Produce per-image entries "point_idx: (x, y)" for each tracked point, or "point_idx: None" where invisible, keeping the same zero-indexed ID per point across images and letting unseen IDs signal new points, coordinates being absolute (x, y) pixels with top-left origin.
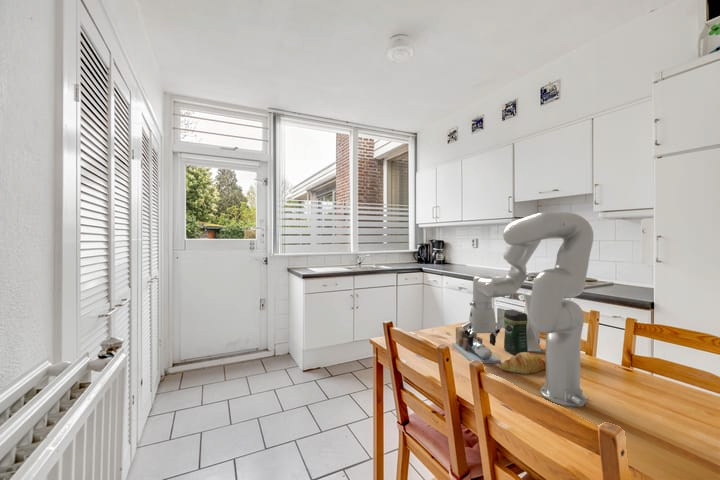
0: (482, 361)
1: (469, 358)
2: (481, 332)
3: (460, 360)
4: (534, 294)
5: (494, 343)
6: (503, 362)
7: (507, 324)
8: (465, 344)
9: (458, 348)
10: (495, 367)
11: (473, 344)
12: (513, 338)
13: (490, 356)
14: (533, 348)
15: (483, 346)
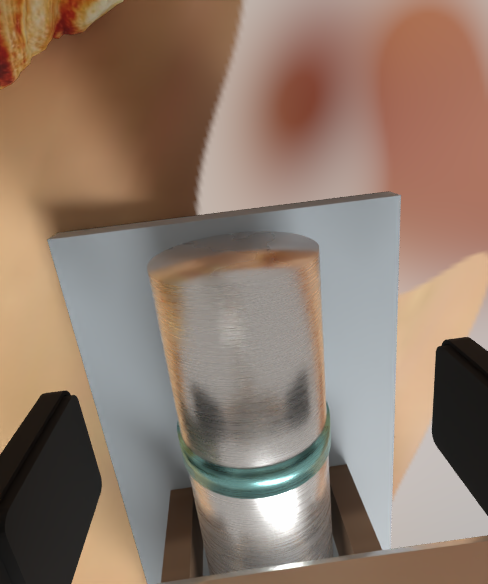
0: (280, 210)
1: (395, 286)
2: (474, 556)
3: (468, 288)
4: None
5: (39, 411)
6: (48, 4)
7: None
8: (371, 525)
9: (385, 516)
10: (164, 89)
11: (324, 483)
12: None
13: (171, 250)
14: None
15: (253, 359)
